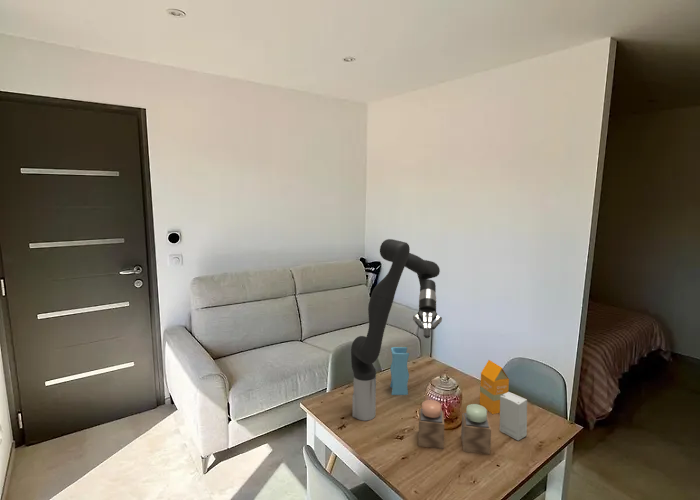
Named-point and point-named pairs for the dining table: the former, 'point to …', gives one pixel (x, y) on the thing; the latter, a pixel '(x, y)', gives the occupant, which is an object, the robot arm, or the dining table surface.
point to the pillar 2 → (475, 435)
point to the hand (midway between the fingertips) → (427, 337)
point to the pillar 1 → (431, 431)
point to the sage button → (476, 413)
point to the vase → (399, 371)
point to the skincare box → (513, 415)
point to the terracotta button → (431, 408)
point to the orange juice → (492, 386)
